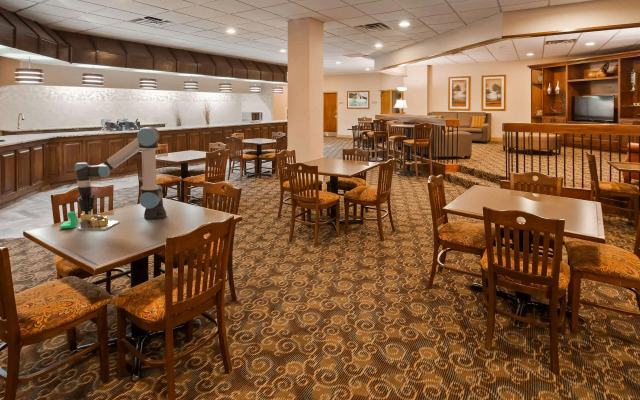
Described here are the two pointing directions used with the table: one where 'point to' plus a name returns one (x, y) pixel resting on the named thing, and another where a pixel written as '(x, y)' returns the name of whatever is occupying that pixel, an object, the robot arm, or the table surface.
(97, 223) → the gold lumpy cluster
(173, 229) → the table surface
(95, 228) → the housing
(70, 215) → the camera mount
